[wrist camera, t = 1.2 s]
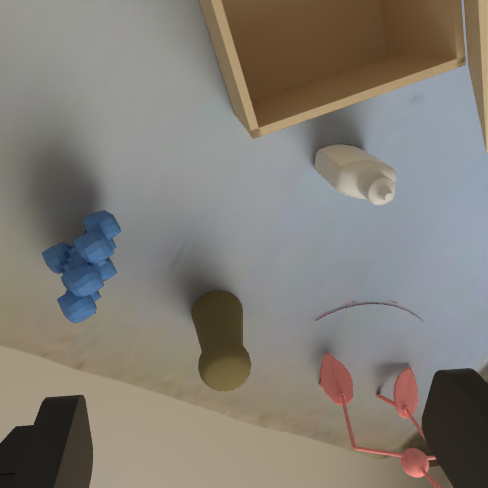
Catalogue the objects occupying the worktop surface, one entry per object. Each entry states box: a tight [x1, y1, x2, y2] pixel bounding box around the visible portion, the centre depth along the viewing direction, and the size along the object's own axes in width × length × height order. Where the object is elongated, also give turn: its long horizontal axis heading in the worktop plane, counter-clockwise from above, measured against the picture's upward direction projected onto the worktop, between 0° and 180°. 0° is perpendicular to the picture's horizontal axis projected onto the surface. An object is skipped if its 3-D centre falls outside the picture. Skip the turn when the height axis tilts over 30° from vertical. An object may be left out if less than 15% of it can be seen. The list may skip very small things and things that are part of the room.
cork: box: [192, 291, 251, 391], centre depth 46 cm, size 6×6×11 cm
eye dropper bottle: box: [314, 144, 396, 205], centre depth 40 cm, size 4×6×12 cm
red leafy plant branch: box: [317, 301, 441, 488], centre depth 41 cm, size 15×26×35 cm, turn 69°
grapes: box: [42, 210, 121, 323], centre depth 40 cm, size 12×7×12 cm, turn 158°
